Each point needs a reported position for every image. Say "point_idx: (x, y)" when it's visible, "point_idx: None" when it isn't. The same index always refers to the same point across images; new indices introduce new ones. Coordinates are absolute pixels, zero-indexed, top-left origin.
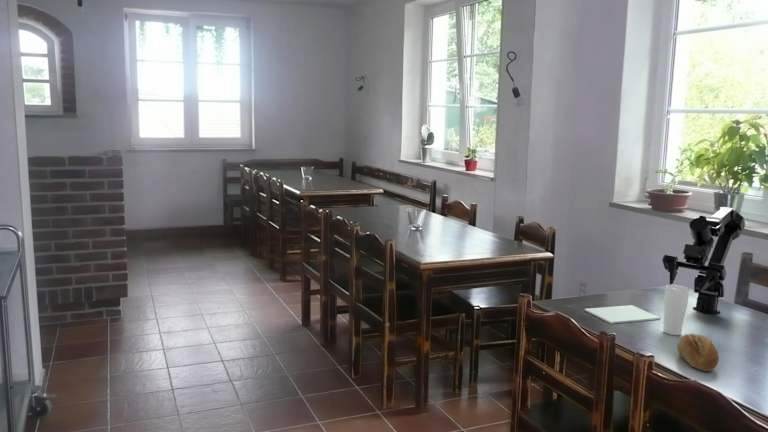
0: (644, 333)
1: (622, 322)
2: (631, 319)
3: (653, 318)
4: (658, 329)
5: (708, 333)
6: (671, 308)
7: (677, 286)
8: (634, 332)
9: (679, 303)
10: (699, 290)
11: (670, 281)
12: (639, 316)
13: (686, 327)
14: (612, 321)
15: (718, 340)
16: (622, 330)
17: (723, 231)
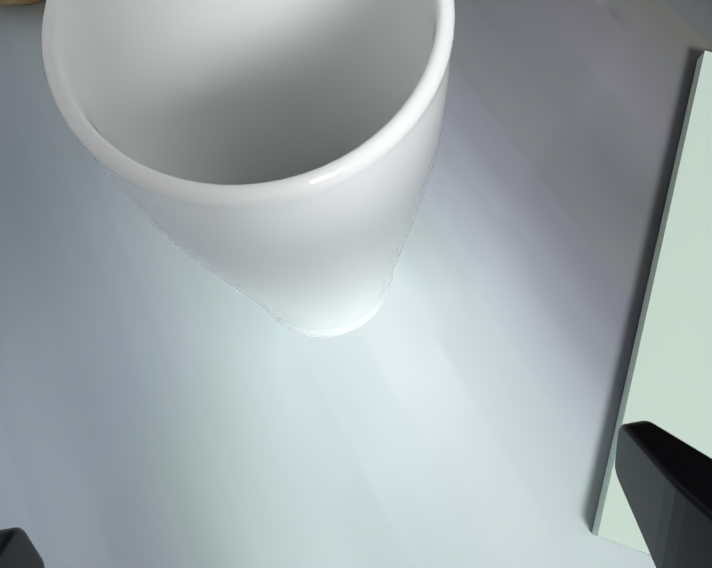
0: None
1: (677, 152)
2: (679, 242)
3: (614, 454)
4: (433, 260)
5: (136, 551)
6: (281, 70)
7: (334, 171)
8: (486, 51)
9: (187, 51)
10: (23, 530)
11: (674, 448)
12: (710, 382)
13: (329, 533)
14: (709, 71)
15: (16, 443)
16: (556, 17)
17: None
